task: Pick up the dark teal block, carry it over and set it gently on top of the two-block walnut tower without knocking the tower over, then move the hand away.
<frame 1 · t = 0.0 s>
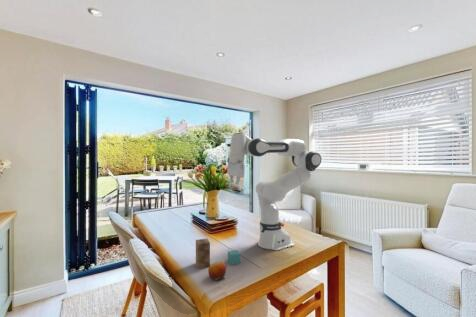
hand: (234, 183, 133), 39 cm above the table, tool pointing down, fingers open, 8 cm apart
teal block: (234, 261, 119), on the table
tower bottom: (202, 264, 115), on the table, touching tower top
fruit: (217, 277, 104), on the table
tower top: (202, 253, 115), point 6 cm above the table, touching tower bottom
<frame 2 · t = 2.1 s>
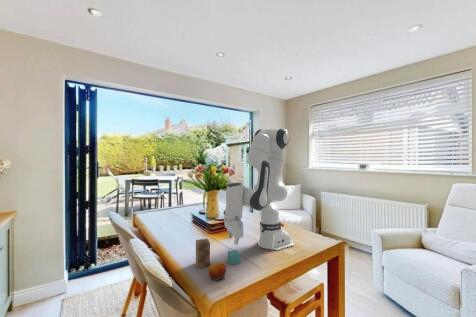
hand: (233, 241, 118), 11 cm above the table, tool pointing down, fingers open, 8 cm apart
nothing on the table moved.
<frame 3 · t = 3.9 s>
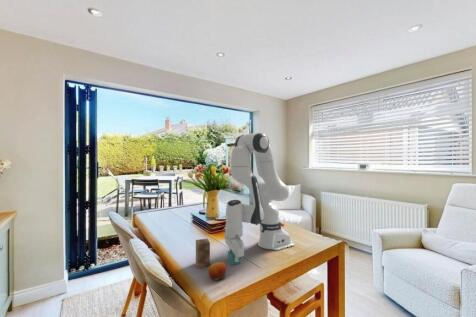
hand: (234, 258, 119), 2 cm above the table, tool pointing down, fingers closed on teal block, 5 cm apart
teal block: (234, 261, 119), on the table, touching gripper
everything else where it was.
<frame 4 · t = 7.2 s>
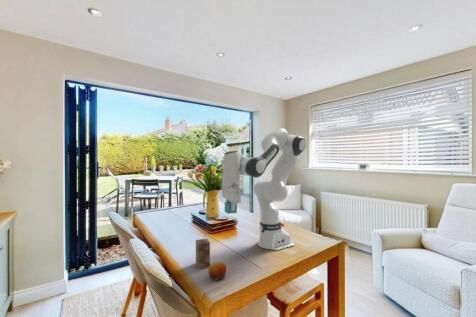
hand: (230, 209, 118), 28 cm above the table, tool pointing down, fingers closed on teal block, 5 cm apart
teal block: (230, 212, 118), point 26 cm above the table, touching gripper
everything else where it was.
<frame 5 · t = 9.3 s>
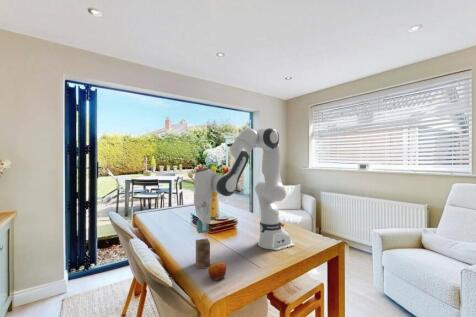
hand: (202, 228, 115), 19 cm above the table, tool pointing down, fingers closed on teal block, 5 cm apart
teal block: (202, 231, 115), point 17 cm above the table, touching gripper
everything else where it was.
when the fingers open (15 cm above the table, at t = 10.9 s): teal block drops 1 cm, resting on tower top.
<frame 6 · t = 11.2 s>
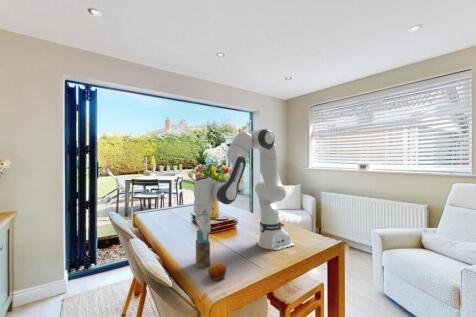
hand: (202, 236, 115), 15 cm above the table, tool pointing down, fingers open, 8 cm apart
teal block: (202, 241, 115), point 12 cm above the table, touching tower top
tower top: (202, 253, 115), point 6 cm above the table, touching teal block, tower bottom
everything else where it was.
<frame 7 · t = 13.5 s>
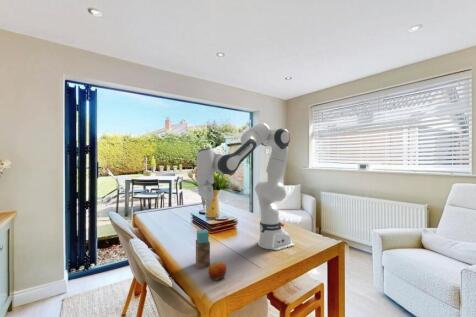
hand: (205, 206, 118), 29 cm above the table, tool pointing down, fingers open, 8 cm apart
nothing on the table moved.
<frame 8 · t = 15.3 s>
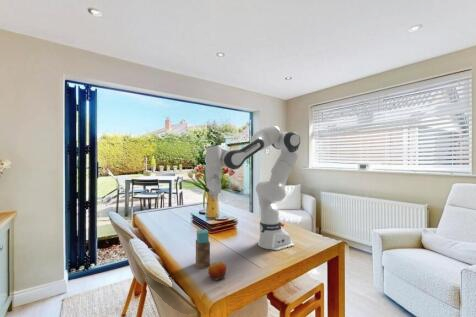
hand: (213, 198, 127), 31 cm above the table, tool pointing down, fingers open, 8 cm apart
nothing on the table moved.
at the end: teal block 0.1 cm off-centre on the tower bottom, point 12.0 cm above the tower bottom's base; tower top 0.0 cm off-centre on the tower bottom, point 6.0 cm above the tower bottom's base; teal block tilted 0° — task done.
